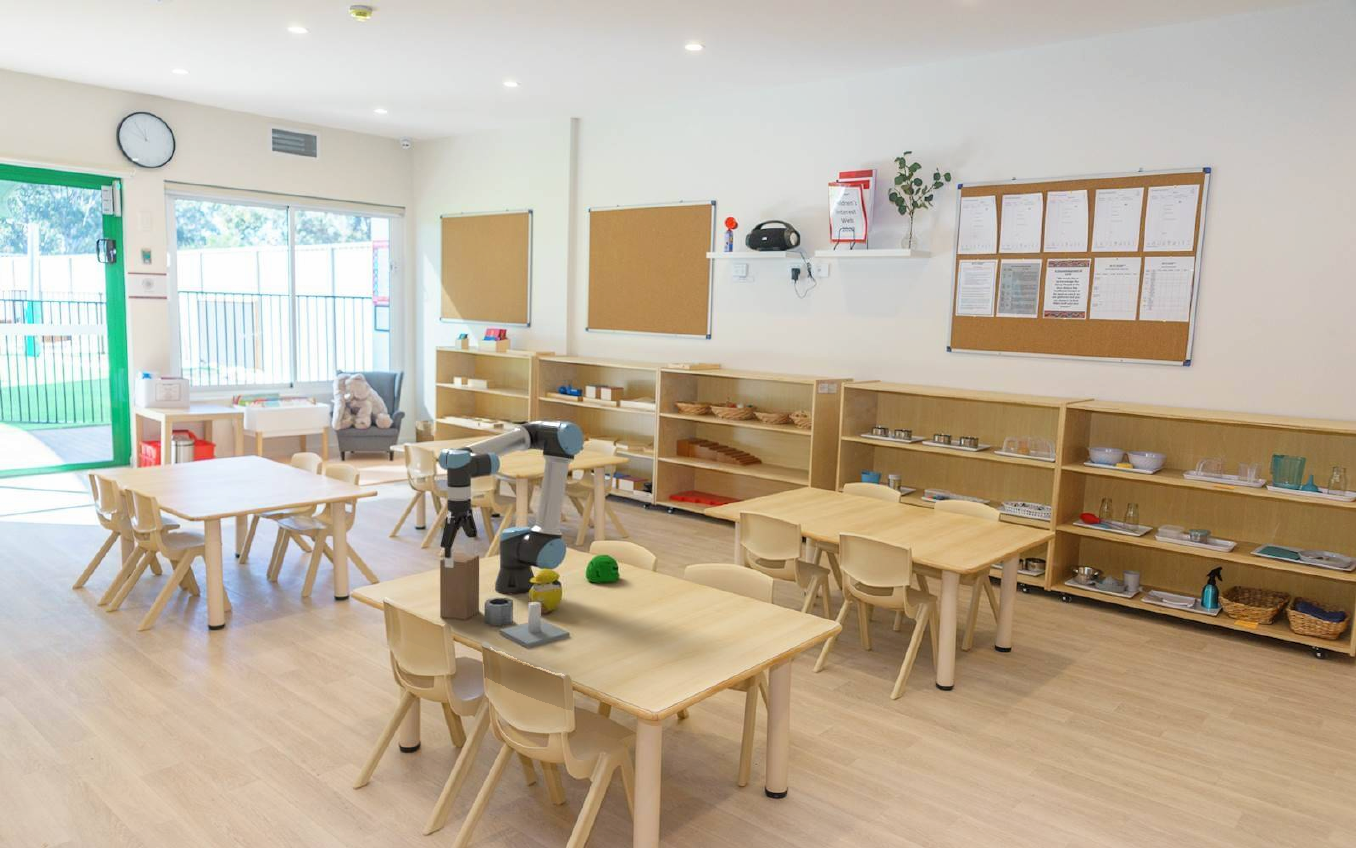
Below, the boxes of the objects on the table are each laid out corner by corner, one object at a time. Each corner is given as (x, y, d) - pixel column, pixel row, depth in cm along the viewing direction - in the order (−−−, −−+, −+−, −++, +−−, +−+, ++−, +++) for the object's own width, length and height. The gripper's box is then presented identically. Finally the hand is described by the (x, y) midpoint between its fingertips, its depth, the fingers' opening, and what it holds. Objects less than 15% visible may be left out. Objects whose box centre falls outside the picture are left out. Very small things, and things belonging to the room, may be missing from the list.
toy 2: (618, 585, 350) (618, 560, 349) (583, 584, 350) (584, 559, 349) (620, 575, 364) (621, 551, 362) (587, 574, 364) (588, 550, 362)
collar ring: (502, 616, 311) (503, 596, 310) (517, 622, 305) (517, 602, 304) (480, 621, 305) (480, 601, 304) (494, 628, 299) (494, 607, 298)
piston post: (540, 623, 305) (541, 593, 303) (569, 637, 293) (569, 605, 292) (499, 634, 294) (499, 602, 292) (527, 648, 282) (528, 615, 281)
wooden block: (467, 620, 306) (467, 562, 303) (439, 617, 308) (439, 559, 305) (479, 611, 316) (479, 554, 313) (452, 608, 318) (452, 552, 315)
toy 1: (522, 609, 319) (522, 567, 317) (545, 603, 326) (546, 562, 324) (545, 618, 310) (546, 575, 308) (569, 612, 317) (569, 570, 316)
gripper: (467, 490, 310) (467, 551, 313) (429, 505, 286) (429, 570, 289) (487, 492, 308) (487, 553, 311) (450, 507, 284) (450, 573, 287)
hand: (459, 561), depth 300 cm, fingers open, 13 cm apart
